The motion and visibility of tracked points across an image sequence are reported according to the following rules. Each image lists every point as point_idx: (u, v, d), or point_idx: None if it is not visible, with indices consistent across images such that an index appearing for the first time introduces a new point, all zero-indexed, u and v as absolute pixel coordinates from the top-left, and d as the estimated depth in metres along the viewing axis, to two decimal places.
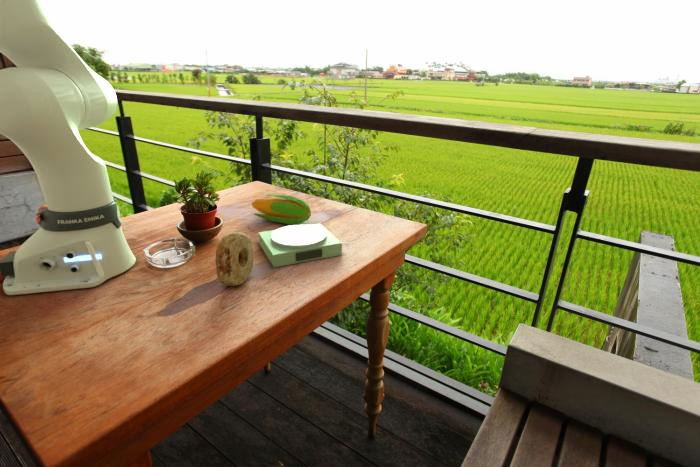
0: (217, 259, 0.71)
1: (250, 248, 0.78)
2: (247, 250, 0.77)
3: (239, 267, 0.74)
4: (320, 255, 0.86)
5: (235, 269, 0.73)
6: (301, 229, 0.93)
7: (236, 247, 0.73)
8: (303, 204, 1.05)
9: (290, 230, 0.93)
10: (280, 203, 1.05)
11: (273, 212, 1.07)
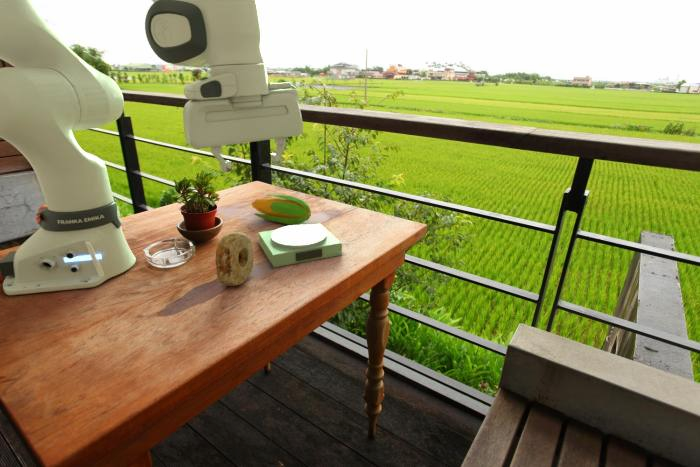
0: (217, 259, 0.71)
1: (250, 248, 0.78)
2: (247, 250, 0.77)
3: (239, 267, 0.74)
4: (320, 255, 0.86)
5: (235, 269, 0.73)
6: (301, 229, 0.93)
7: (236, 247, 0.73)
8: (303, 204, 1.05)
9: (290, 230, 0.93)
10: (280, 203, 1.05)
11: (273, 212, 1.07)
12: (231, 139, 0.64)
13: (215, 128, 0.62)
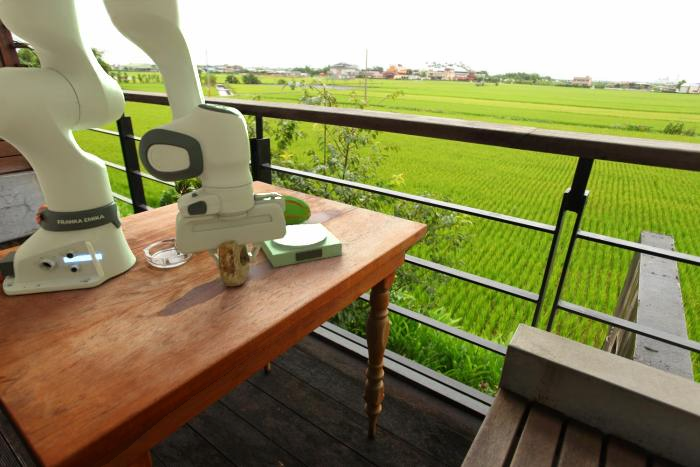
0: (220, 260, 0.70)
1: (247, 247, 0.78)
2: (245, 249, 0.77)
3: (241, 266, 0.74)
4: (320, 255, 0.86)
5: (238, 269, 0.73)
6: (301, 229, 0.93)
7: (237, 246, 0.73)
8: (303, 204, 1.05)
9: (290, 230, 0.93)
10: None
11: None
12: (215, 245, 0.71)
13: (201, 237, 0.70)
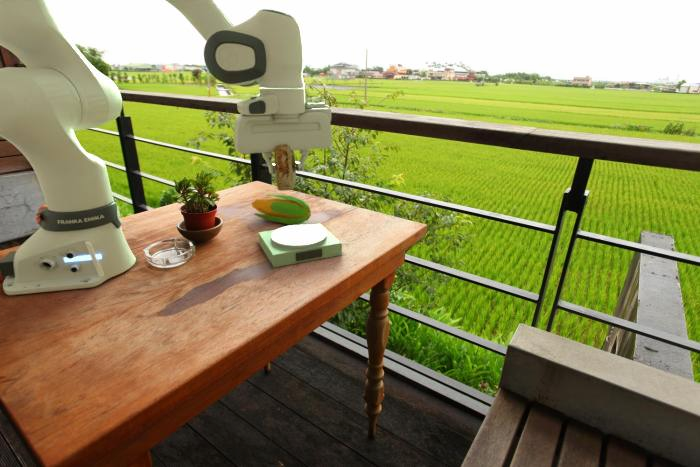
0: (277, 160, 0.77)
1: None
2: (294, 158, 0.83)
3: (292, 171, 0.80)
4: (320, 255, 0.86)
5: (291, 171, 0.79)
6: (301, 229, 0.93)
7: (290, 151, 0.79)
8: (303, 204, 1.05)
9: (290, 230, 0.93)
10: (280, 203, 1.05)
11: (273, 212, 1.07)
12: (270, 148, 0.77)
13: (258, 138, 0.76)
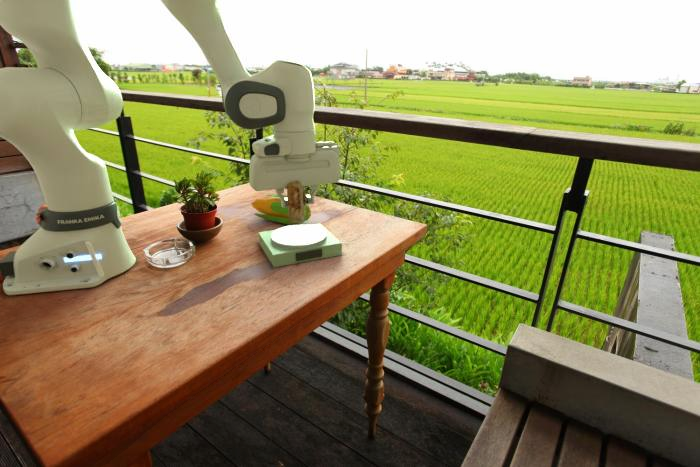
0: (289, 197, 0.82)
1: None
2: (304, 192, 0.89)
3: (303, 205, 0.86)
4: (320, 255, 0.86)
5: (302, 206, 0.85)
6: (301, 229, 0.93)
7: (301, 187, 0.85)
8: None
9: (290, 230, 0.93)
10: (280, 203, 1.05)
11: (273, 212, 1.07)
12: (283, 185, 0.83)
13: (272, 176, 0.81)
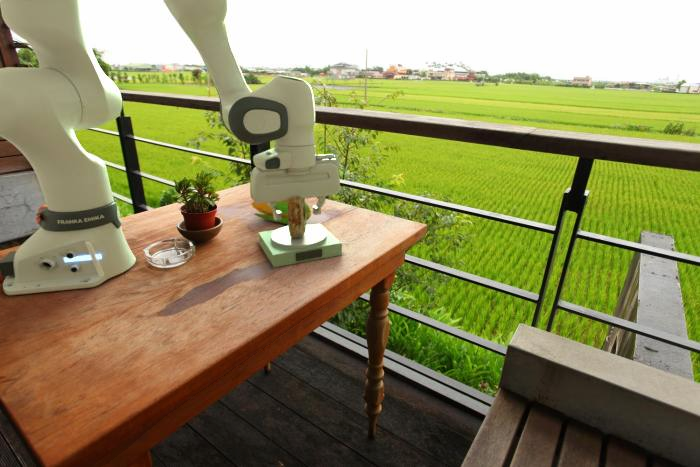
0: (290, 213, 0.83)
1: (305, 206, 0.91)
2: (305, 207, 0.90)
3: (303, 220, 0.87)
4: (320, 255, 0.86)
5: (302, 222, 0.86)
6: None
7: (301, 203, 0.86)
8: None
9: None
10: (280, 203, 1.05)
11: None
12: (283, 197, 0.84)
13: (272, 189, 0.83)
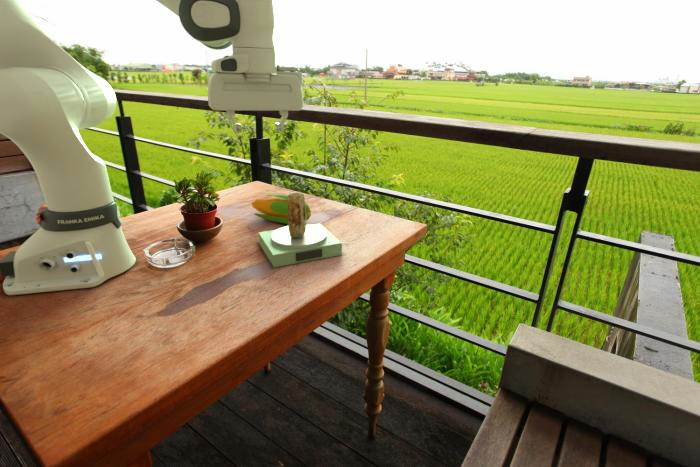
0: (290, 213, 0.83)
1: (305, 206, 0.91)
2: (305, 207, 0.90)
3: (303, 220, 0.87)
4: (320, 255, 0.86)
5: (302, 222, 0.86)
6: None
7: (301, 203, 0.86)
8: None
9: None
10: (280, 203, 1.05)
11: (273, 212, 1.07)
12: (242, 106, 0.82)
13: (230, 96, 0.80)
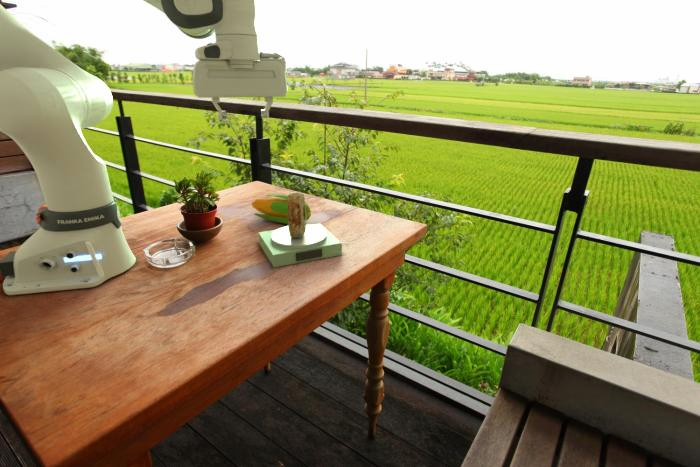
0: (290, 213, 0.83)
1: (305, 206, 0.91)
2: (305, 207, 0.90)
3: (303, 220, 0.87)
4: (320, 255, 0.86)
5: (302, 222, 0.86)
6: None
7: (301, 203, 0.86)
8: None
9: None
10: (280, 203, 1.05)
11: (273, 212, 1.07)
12: (227, 93, 0.83)
13: (214, 83, 0.81)
